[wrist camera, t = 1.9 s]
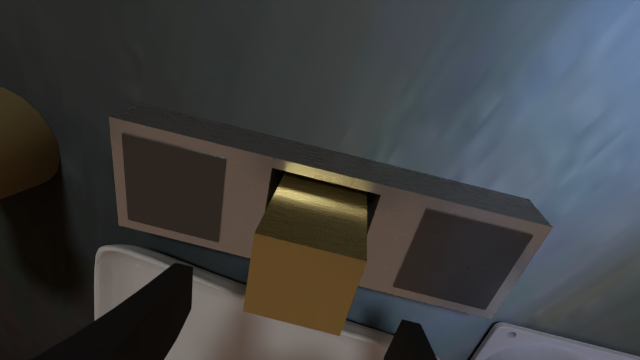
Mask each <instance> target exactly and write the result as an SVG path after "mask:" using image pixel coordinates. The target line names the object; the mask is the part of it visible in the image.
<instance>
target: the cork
mask: <svg viewBox="0 0 640 360" xmlns="http://www.w3.org/2000/svg"><path fill="white" fill-rule="evenodd" d="M59 162H60V155H59V148H58V143H57V141H56V139H55V137H54V135H53V132H52V130H51V128H50V126H49V125H48V124H47V123H46V121H45V120H44V119H43V117H42V116H41V115H40V113H39V112H38V111H37V110H36V109H35V108H33V107H32V106H31V105H30V104H29V103H28V102H27V101H25V100H24V99H23V98H22V97H20V96H18V95H16V94H15V93H13V92H11V91H9V90H7V89H5V88H3V87H0V199H2V198H5V197H8V196H10V195H13V194H16V193H18V192H21V191H24V190H27V189H29V188H32V187H35V186H37V185H40V184H42V183H45V182H47V181H49V180H51V179H52V177H53V176H54V175H55V174H56V172H57V171H58V167H59Z"/></svg>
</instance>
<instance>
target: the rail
mask: <svg viewBox="0 0 640 360" xmlns="http://www.w3.org/2000/svg"><path fill="white" fill-rule="evenodd" d="M109 123H110V134H111V145H112V156H113V167H114V178H115V189H116V200H117V211H118V222H119V225H120V226H124V227H128V228H132V229H136V230H140V231H144V232H148V233H152V234H156V235H160V236H164V237H168V238H172V239H175V240H179V241H183V242H187V243H191V244H195V245H199V246H203V247H207V248H211V249H215V250H219V251H223V252H227V253H231V254H235V255H239V256H243V257H247V258H250V259H251V252H252V246H253V239H254V233H255V231H256V229H257V227H258V225H259V223H260V221H261V219H262V217H263V215H264V213H265V211H266V209H267V207H268V205H269V203H270V201H271V199H272V197H273V195H274V193H275V191H276V189H277V184H278V178H279V172H280V170H283V171H287V172H291V173H295V174H299V175H303V176H307V177H311V178H315V179H319V180H323V181H327V182H331V183H335V184H339V185H343V186H347V187H351V188H355V189H359V190H363V191H367V192H371V193H372V195H371V198H370V201H369V204H368V207H367V263H366V266H365V269H364V271H363V274H362V277H361V279H360V282H359V285H358V286H361V287H365V288H369V289H373V290H377V291H381V292H385V293H389V294H393V295H397V296H400V297H404V298H408V299H412V300H416V301H420V302H424V303H428V304H432V305H436V306H440V307H444V308H448V309H452V310H456V311H460V312H464V313H468V314H472V315H475V316H479V317H483V318H487V319H492V317H493V316H494V314H495V313H496V311H497V310H498V308H499V307H500V305H501V304H502V302H503V301H504V299H505V298H506V296H507V295H508V293H509V292H510V290H511V289H512V287H513V286H514V284H515V283H516V282H517V280H518V279H519V277H520V276H521V274H522V273H523V271H524V270H525V268H526V267H527V265H528V264H529V262H530V261H531V259H532V258H533V256H534V255H535V253H536V252H537V250H538V249H539V247H540V246H541V244H542V243H543V241H544V240H545V238H546V237H547V235H548V234H549V232H550V231H551V229H552V228H553V227H552V226H551V224H550V223H549V222H548V221H547V220H546V219H545V217H544V216H543V215H542V214H541V213H540V212H539V210H538V209H537V208H536V207H535V206H534V205H533V203H532V202H531V201H530V200H529V199H525V198H521V197H517V196H513V195H509V194H505V193H501V192H497V191H493V190H489V189H485V188H481V187H477V186H473V185H469V184H464V183H460V182H456V181H452V180H448V179H444V178H440V177H436V176H432V175H428V174H424V173H420V172H416V171H412V170H408V169H404V168H400V167H396V166H392V165H388V164H384V163H380V162H376V161H372V160H368V159H364V158H360V157H356V156H352V155H348V154H344V153H339V152H335V151H331V150H327V149H323V148H319V147H315V146H311V145H307V144H303V143H299V142H295V141H291V140H287V139H283V138H279V137H275V136H271V135H267V134H263V133H259V132H255V131H251V130H247V129H243V128H239V127H235V126H231V125H227V124H223V123H219V122H214V121H210V120H206V119H202V118H198V117H194V116H190V115H186V114H182V113H178V112H174V111H170V110H166V109H162V108H158V107H154V106H150V105H146V104H142V103H141V104H139V105H136V106H134V107H131V108H129V109H127V110H124V111H122V112H119V113H117V114H114V115H112V116H110V117H109Z"/></svg>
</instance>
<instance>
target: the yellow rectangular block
mask: <svg viewBox="0 0 640 360" xmlns="http://www.w3.org/2000/svg"><path fill="white" fill-rule="evenodd" d="M366 263H367V191H363V190H359V189H355V188H351V187H347V186H343V185H339V184H335V183H331V182H327V181H323V180H319V179H315V178H311V177H307V176H303V175H299V174H295V173H291V172H287V171H285V173H284V175H283V177H282V179H281V181H280V183H279V185H278V187H277V189H276V191H275V193H274V195H273V197H272V199H271V201H270V203H269V205H268V207H267V209H266V211H265V213H264V215H263V217H262V219H261V221H260V223H259V225H258V227H257V229H256V231H255V233H254V239H253V246H252V252H251V259H250V266H249V273H248V280H247V286H246V293H245V300H244V307H243V312H247V313H251V314H255V315H259V316H263V317H266V318H270V319H274V320H278V321H282V322H286V323H290V324H294V325H298V326H302V327H306V328H310V329H314V330H318V331H321V332H325V333H329V334H333V335H337V336H340V334H341V331H342V329H343V326H344V323H345V320H346V318H347V315H348V312H349V309H350V307H351V304H352V301H353V299H354V296H355V293H356V290H357V288H358V285H359V282H360V279H361V277H362V274H363V271H364V269H365V266H366Z"/></svg>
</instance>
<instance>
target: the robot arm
mask: <svg viewBox="0 0 640 360" xmlns="http://www.w3.org/2000/svg"><path fill="white" fill-rule="evenodd" d="M192 285H193V267H191V266H187V265H183V264H179V263H174V264H172V265H171V266H170V267H168V268H167V269H166V270H165V271H163V272H162V273H161V274H159V275H158V276H157V277H155V278H154V279H153V280H152V281H150V282H149V283H148V284H146V285H145V286H144V287H142V288H141V289H140V290H138V291H137V292H136V293H134V294H133V295H131V296H130V297H129V298H127V299H126V300H124V301H123V302H122V303H120V304H119V305H117V306H116V307H115V308H113V309H112V310H110V311H109V312H107V313H106V314H104V315H103V316H101V317H100V318H98V319H97V320H95V321H94V322H92V323H91V324H89V325H87V326H86V327H84V328H83V329H81V330H80V331H78V332H77V333H75V334H73V335H72V336H70V337H68V338H67V339H65V340H63V341H62V342H60V343H58V344H57V345H55V346H53V347H51V348H50V349H48V350H46V351H44V352H43V353H41V354H39V355H37V356H35V357H34V358H32V359H30V360H164V359H165V358H166V356H167V354H168V353H169V351H170V349H171V348H172V346H173V345H174V343H175V341H176V340H177V338H178V336H179V334H180V332H181V330H182V328H183V326H184V324H185V321H186V319H187V317H188V315H189V313H190V311H191V309H192ZM384 360H437V358H436V356H435V354H434V352H433V350H432V348H431V345H430V343H429V341H428V339H427V337H426V335H425V333H424V330H423V328H422V326H421V325H420V324H418V323H414V322H410V321H406V320H402V321H401V323H400V325H399V327H398V329H397V331H396V333H395V335H394V337H393V339H392V341H391V343H390V345H389V347H388V350H387V352H386V354H385V356H384ZM470 360H640V357H639V356H635V355H631V354H627V353H623V352H619V351H615V350H611V349H607V348H603V347H599V346H595V345H591V344H588V343H584V342H580V341H576V340H572V339H568V338H564V337H560V336H556V335H552V334H548V333H544V332H540V331H536V330H532V329H528V328H524V327H520V326H516V325H513V324H509V323H505V322H499V323H496V324H495V325H494V326H493V327H492V328H491V330H490V331H489V333H488V334H487V336H486V337H485V339H484V340H483V342H482V343H481V345H480V346H479V347H478V349H477V350H476V352H475V353H474V355H473V356H472V358H471V359H470Z"/></svg>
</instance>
